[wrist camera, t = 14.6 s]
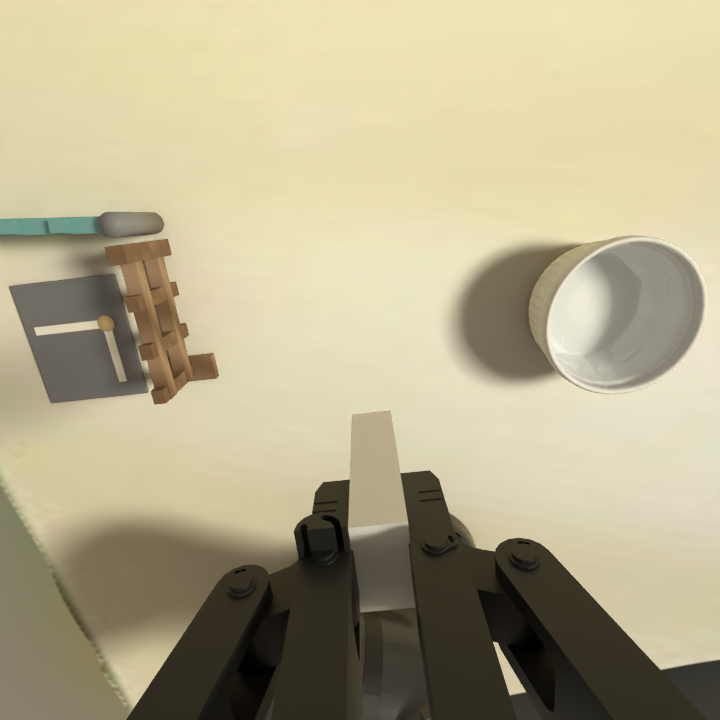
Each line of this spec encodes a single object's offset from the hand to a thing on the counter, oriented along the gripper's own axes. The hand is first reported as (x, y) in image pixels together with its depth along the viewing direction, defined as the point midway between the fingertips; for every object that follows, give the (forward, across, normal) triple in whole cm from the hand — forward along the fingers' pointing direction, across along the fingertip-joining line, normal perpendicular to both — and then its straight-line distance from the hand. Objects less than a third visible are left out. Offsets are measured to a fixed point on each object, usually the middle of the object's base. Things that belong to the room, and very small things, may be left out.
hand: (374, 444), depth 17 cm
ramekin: (+27, -21, +2) cm, 34 cm away
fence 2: (+26, +18, -2) cm, 32 cm away
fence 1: (+26, +25, -11) cm, 38 cm away
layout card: (+26, +28, 0) cm, 38 cm away
